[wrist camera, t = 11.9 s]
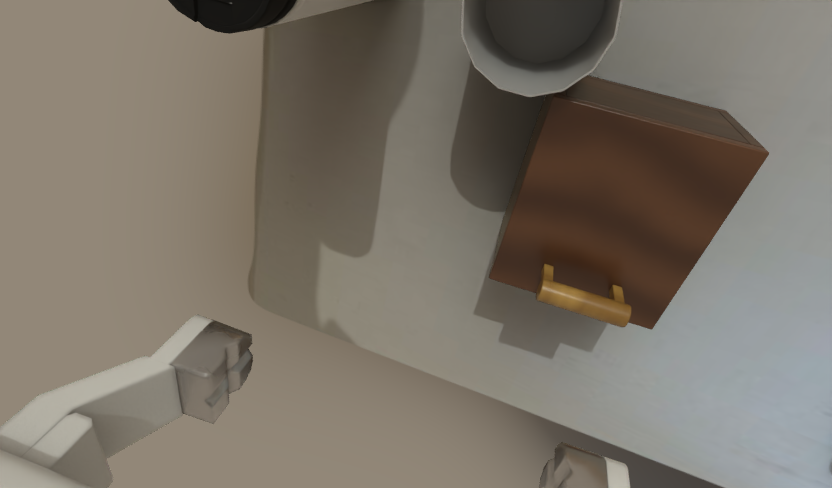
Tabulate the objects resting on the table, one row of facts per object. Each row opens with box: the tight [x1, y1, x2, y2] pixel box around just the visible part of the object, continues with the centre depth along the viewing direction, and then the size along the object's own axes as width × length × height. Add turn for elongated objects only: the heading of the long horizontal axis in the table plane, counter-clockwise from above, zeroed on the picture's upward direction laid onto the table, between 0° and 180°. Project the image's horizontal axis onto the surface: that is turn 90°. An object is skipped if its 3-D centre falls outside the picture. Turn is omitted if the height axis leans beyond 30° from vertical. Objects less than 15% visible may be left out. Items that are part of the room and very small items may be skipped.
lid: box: [489, 93, 769, 329], centre depth 30 cm, size 14×13×4 cm
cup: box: [461, 0, 623, 97], centre depth 29 cm, size 8×8×10 cm
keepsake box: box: [493, 75, 764, 263], centre depth 35 cm, size 14×13×8 cm
